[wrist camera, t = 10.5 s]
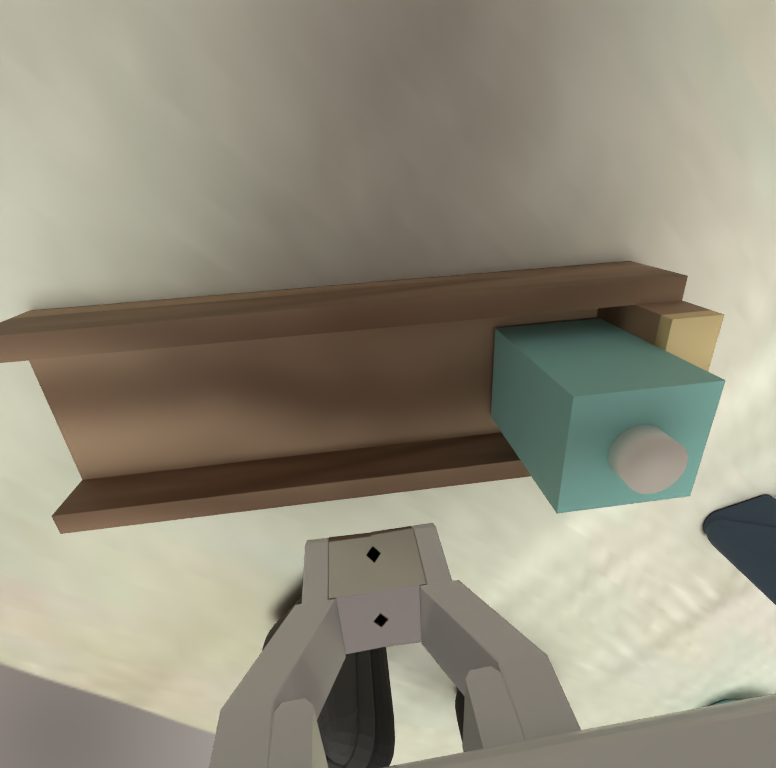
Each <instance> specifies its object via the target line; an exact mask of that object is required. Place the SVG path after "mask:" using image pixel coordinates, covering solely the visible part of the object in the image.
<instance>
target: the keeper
mask: <svg viewBox="0 0 776 768" xmlns="http://www.w3.org/2000/svg"><path fill="white" fill-rule="evenodd" d="M724 384H725V380H724V379H722V378H720V377H718V376H716V375H713V374H711V373H709V372H707V371H705V370H703V369H701V368H699V367H697V366H695V365H693V364H691V363H689V362H687V361H685V360H683V359H681V358H679V357H677V356H675V355H673V354H671V353H669V352H667V351H665V350H663V349H661V348H659V347H657V346H655V345H653V344H651V343H649V342H647V341H645V340H643V339H641V338H639V337H637V336H635V335H633V334H631V333H629V332H627V331H625V330H623V329H621V328H619V327H617V326H615V325H613V324H611V323H609V322H606V321H604V320H602V319H600V318H599V319H589V320H578V321H567V322H557V323H546V324H535V325H524V326H514V327H503V328H495V343H494V363H493V383H492V402H491V418H492V419H493V421H494V422H495V423H496V425H497V426H498V428H499V429H500V431H501V432H502V434H503V435H504V437H505V438H506V440H507V441H508V443H509V444H510V445H511V447H512V448H513V450H514V451H515V453H516V454H517V456H518V457H519V459H520V460H521V462H522V463H523V465H524V466H525V467H526V469H527V470H528V472H529V473H530V475H531V476H532V478H533V479H534V481H535V482H536V484H537V485H538V487H539V488H540V489H541V491H542V492H543V494H544V495H545V497H546V498H547V500H548V501H549V503H550V504H551V506H552V507H553V508H554V510H555V511H556V513H564V512H571V511H579V510H587V509H594V508H602V507H610V506H617V505H625V504H633V503H640V502H648V501H656V500H663V499H671V498H679V497H686V496H690V494H691V491H692V488H693V484H694V481H695V478H696V475H697V471H698V468H699V465H700V462H701V458H702V455H703V452H704V449H705V445H706V442H707V439H708V436H709V432H710V429H711V426H712V423H713V419H714V416H715V413H716V410H717V406H718V403H719V400H720V397H721V393H722V390H723V387H724Z"/></svg>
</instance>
